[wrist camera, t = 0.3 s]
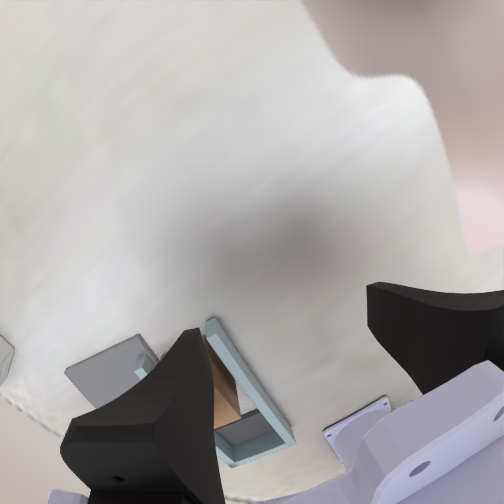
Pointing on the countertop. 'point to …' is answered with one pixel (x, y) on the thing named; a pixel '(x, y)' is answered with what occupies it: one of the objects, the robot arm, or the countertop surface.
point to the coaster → (109, 371)
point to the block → (222, 390)
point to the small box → (5, 358)
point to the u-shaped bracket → (251, 424)
